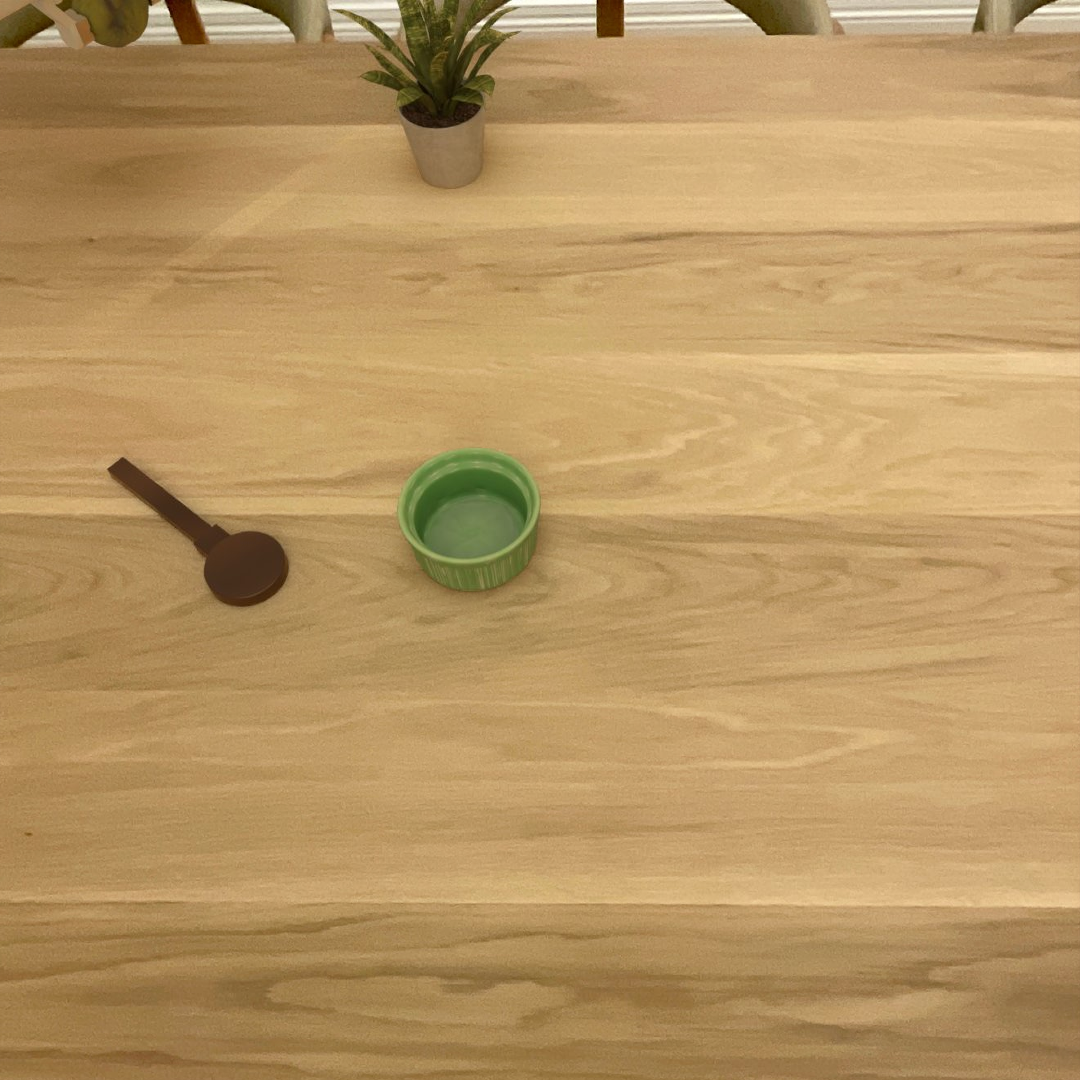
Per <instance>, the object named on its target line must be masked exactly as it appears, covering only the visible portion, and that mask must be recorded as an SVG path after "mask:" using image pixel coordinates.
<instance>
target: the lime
mask: <svg viewBox="0 0 1080 1080" xmlns="http://www.w3.org/2000/svg"><path fill="white" fill-rule="evenodd" d="M71 9H72V10H74V11H76V12H77V14H81V15H83V16H85V17H87V19H88V22H89V24H90V26H91V28H90V31H91V32H92V33H93V34H94V36H95V40H94V41H93V42H95V43H97V44H98V45H101V46H105V47H109V48H115V49H116V48H117V49H118V48H119V49H120V48H124V47H126V46H128V45H130V44H132V43H134V42H136V41H138V40H139V39H140V38H141V36H142V35H143V34H144V33H145V31H146V29H147V26H148V23H149V18H150V17H149V16H150V14H149V12H150V6H149V3H148V0H72V1H71Z"/></svg>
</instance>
